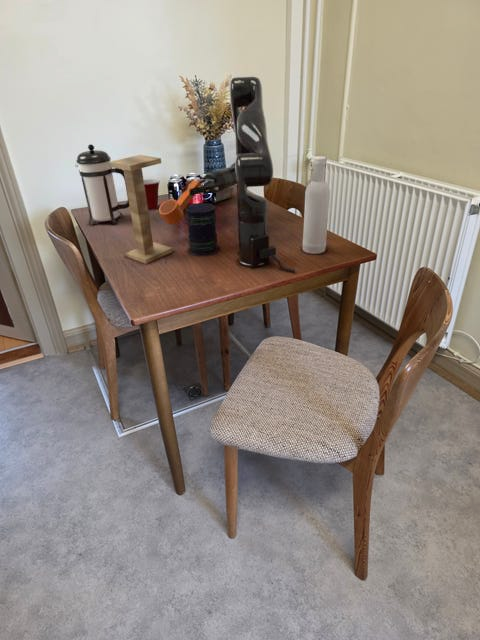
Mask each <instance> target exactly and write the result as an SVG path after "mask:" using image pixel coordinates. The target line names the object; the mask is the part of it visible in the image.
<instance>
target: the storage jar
mask: <svg viewBox="0 0 480 640" xmlns="http://www.w3.org/2000/svg"><path fill="white" fill-rule="evenodd" d="M185 219H186V225H187V228H188V237H187V239H188V246H189V252H190V253H191V254H192V255H194V256H210V255H213V254H215V253H216V252H217V251H218V234H217V231H216V230H217V229H216V224H217V216H216V206H215V205H214V204H213V203H209V202H199V203H198V202H197V203H192V204H188V205H187V206H186V207H185Z"/></svg>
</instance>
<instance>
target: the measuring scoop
mask: <svg viewBox="0 0 480 640" xmlns="http://www.w3.org/2000/svg"><path fill="white" fill-rule="evenodd" d="M192 180H193V181H192V182H191V184H190V185H189V186H188V187H187V189H186V190H185V191H184V192H183V193H182V194H181V195H180V196H179V198H178V199H167V200H165V201H164V202H162V203H161V204H160V206H159V208H158V212H159V214H160V215H161V218H163V220H164V221H165V223H166V224H168V225H175V224H177V223H180V221H181V220H182V219H183V218H184V210H186V207H187V206H189V203H190V202H191V201H192V200H193V198H195V196H196V194H195V195H192V196H191V195H190V194H189V189H191V188H194V187H198V186H200V185H201V184H200V182H199V180H195V179H192Z"/></svg>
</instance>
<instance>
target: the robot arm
mask: <svg viewBox="0 0 480 640" xmlns="http://www.w3.org/2000/svg"><path fill="white" fill-rule="evenodd" d="M263 99H264V98H263V87H262V82H261V80H260V78H259V77H256V76H242V77H241V76H238V77H237V76H236V77H232V78H231V80H230V83H229V100H230V101H229V102H230V108H231V109H230V110H231V117H232V123H233V129H234V135H235V138H234V139H235V156H236V157H235V161H234V162H233V163H232V164H231V165H230V166H229V167H224V168H219V169H217V170H214V171H210V172H207V173H206V174H205V175H204V176H203V178H200V179H199V180H198V181H199V182H200V184H201V185H200V186H198V187H194V188H191V189H189V194H190V195H191V196H192V195H195V196H196V194H198V193H199V194H201V193H203V194H208V193H216V192H219V191H222V190H224V189H227V188H228V187H234V186H236V199H237V203H236V204H237V207H236V208H237V233H238V236H237V237H238V251H237V256H238V262H239V263H240V264H241V265H243V266H246V267H251V268H252V269H253V268H254V269H255V268H257V267H261V266H264V265H268V264H270V258H272V259H273V260H274V261H275V262H276V263H277V264H278V266H279V268H280V269H281V270H283V271H285V272H292V273H295V272H296V270H295V269H292V268H286V267H284V266H283V265H282V263H281V261H280V260H279V259H278V258H277V257H276V255H277V254H276V253H277V252H276V251H277V250H276V249H277V248H276V246H274V245H270V235H269V233H268V231H269V228H268V227H269V219H268V218H269V203H268V199H267V198H266V197H265V196H262V195H259V194H256V193H254V192H252V191H250V189H248V188H250V187H251V188H254V187H266V186H269V185H270V184H272V181H273V179H274V165H273V160H272V154H271V150H270V147H269V143H268V142H269V141H268V131H267V122H266V118H265V112H264V103H263V102H264V100H263ZM241 108H243V109H242V110H241ZM193 180H194V179H190V180H189V181H187V182H185V185H186V186H183V187H182V188H181V193H182V194H183V192H184V191H185V190H186V189H187V187H188V186H189V185H190V184H191V182H192V181H193Z"/></svg>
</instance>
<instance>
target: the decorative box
mask: <svg viewBox="0 0 480 640" xmlns="http://www.w3.org/2000/svg"><path fill="white" fill-rule="evenodd" d="M233 192H234V186H231V187H228V188H227V189H224V190H222V191H219V192H216V201H215V202H213V201H212V202H211V203H213V204H215V203H217V202H221V201H223V200H226V199H229V198H232V195H233ZM204 195H207V194H204Z"/></svg>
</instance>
